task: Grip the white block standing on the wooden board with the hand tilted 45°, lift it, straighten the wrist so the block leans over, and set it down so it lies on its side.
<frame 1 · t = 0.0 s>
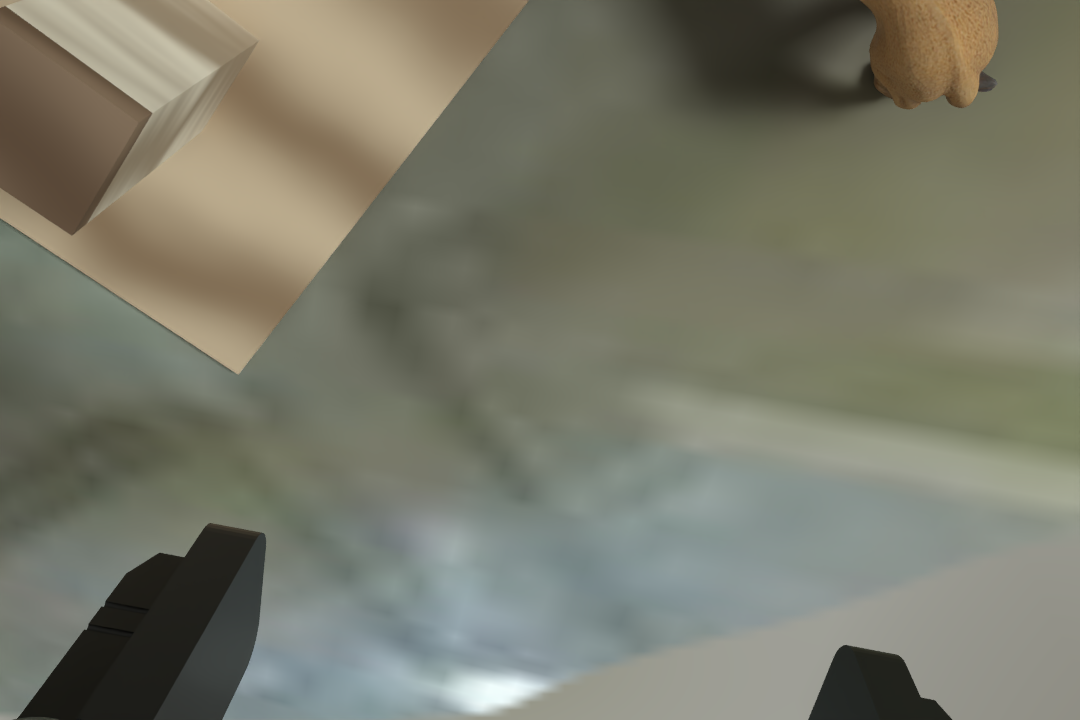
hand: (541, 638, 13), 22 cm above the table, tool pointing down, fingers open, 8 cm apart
white block: (177, 47, 31), resting on wooden board
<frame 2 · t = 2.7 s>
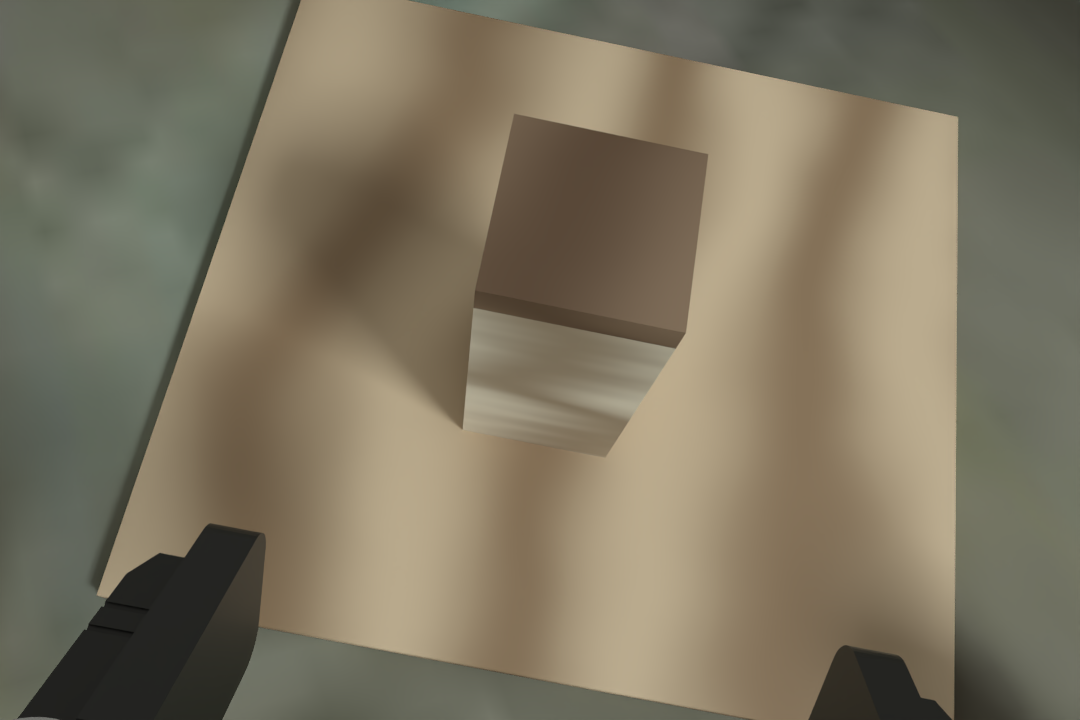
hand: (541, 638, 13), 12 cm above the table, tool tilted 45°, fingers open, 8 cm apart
wooden board: (588, 327, 28), on the table
white block: (546, 377, 26), resting on wooden board
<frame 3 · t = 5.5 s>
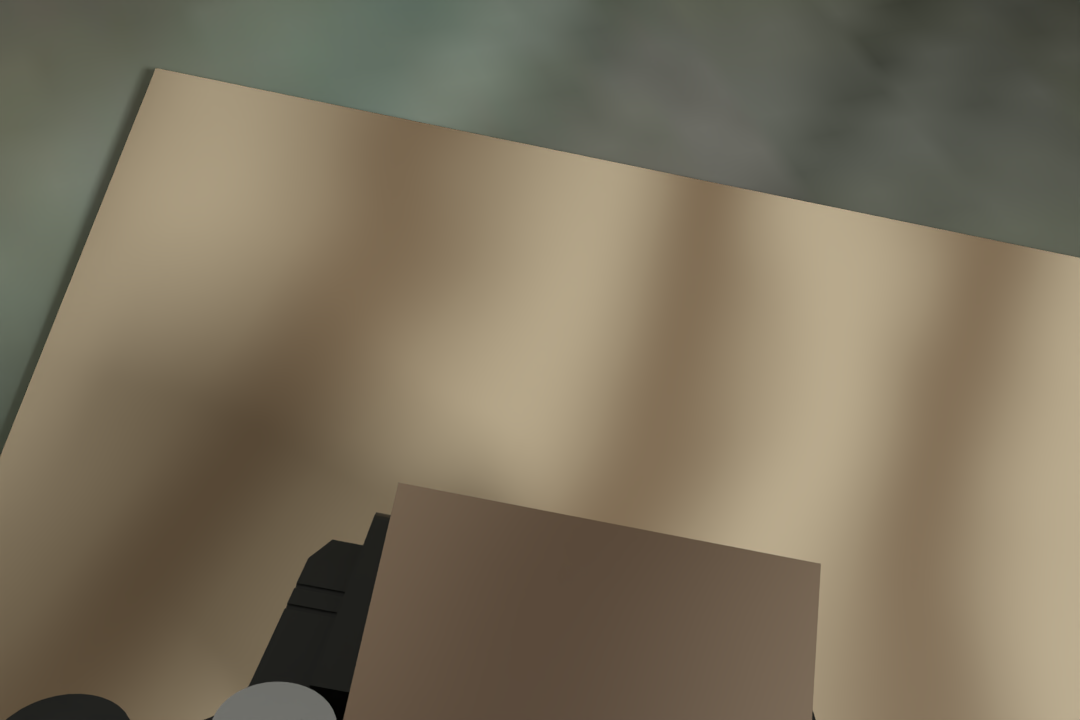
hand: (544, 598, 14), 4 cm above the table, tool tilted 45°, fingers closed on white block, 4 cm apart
wooden board: (575, 631, 17), on the table
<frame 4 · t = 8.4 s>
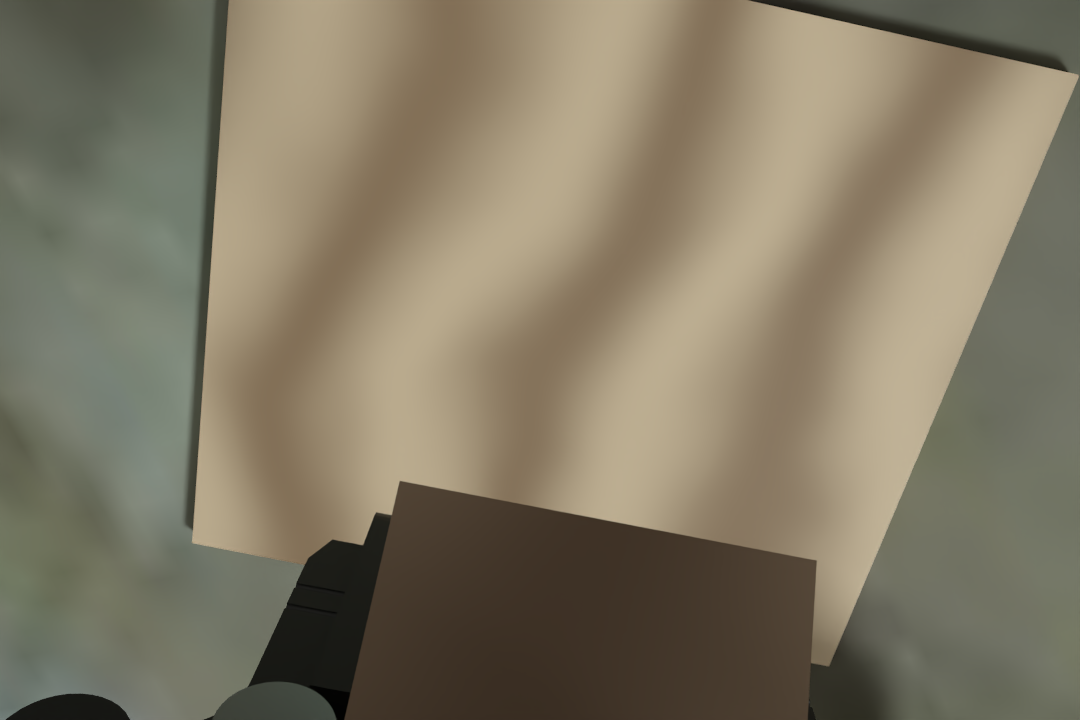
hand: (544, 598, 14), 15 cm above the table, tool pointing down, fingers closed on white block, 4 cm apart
wooden board: (580, 332, 28), on the table
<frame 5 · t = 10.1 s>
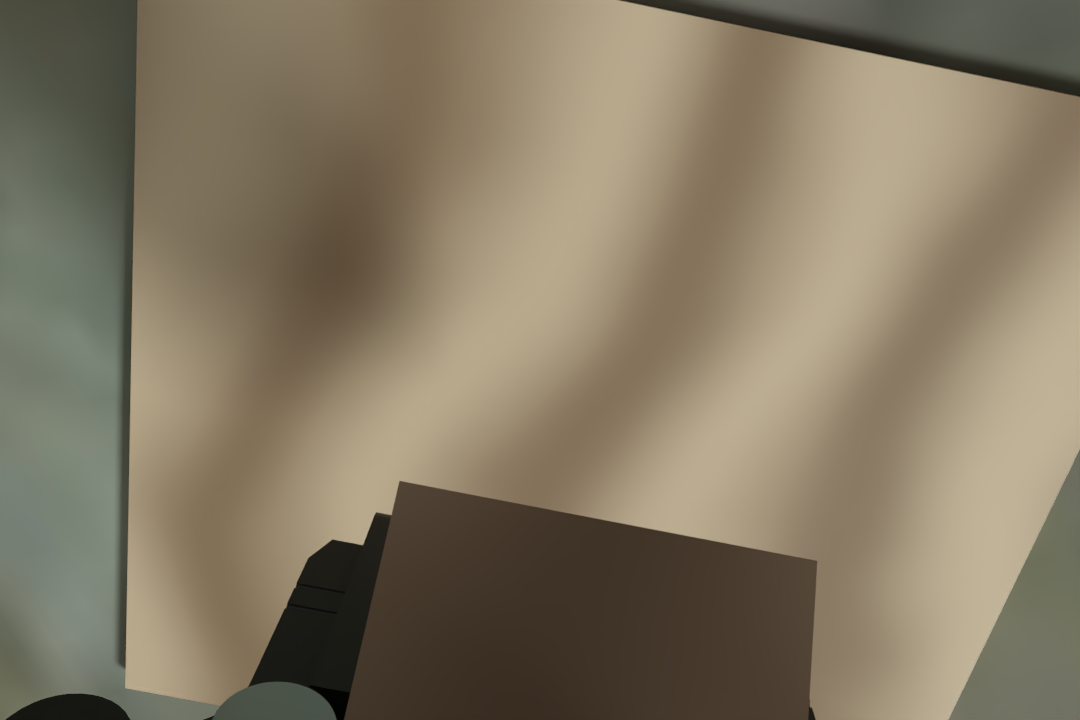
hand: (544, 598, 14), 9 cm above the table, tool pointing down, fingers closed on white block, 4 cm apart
wooden board: (589, 444, 23), on the table
when the fingers open (5 cm above the table, at t = 11.2 s): white block moves 2 cm and tips over, resting on wooden board.
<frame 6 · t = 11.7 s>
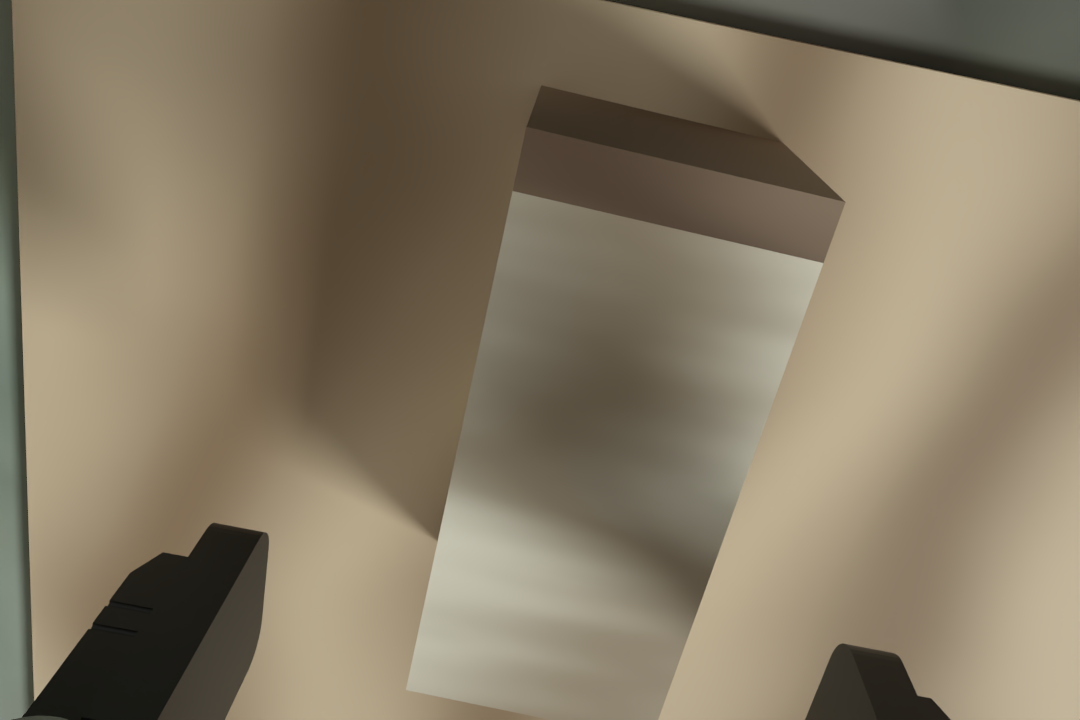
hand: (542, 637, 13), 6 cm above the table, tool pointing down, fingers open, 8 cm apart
wooden board: (583, 539, 19), on the table
white block: (535, 632, 17), point 2 cm above the table, tilted 90°, touching wooden board
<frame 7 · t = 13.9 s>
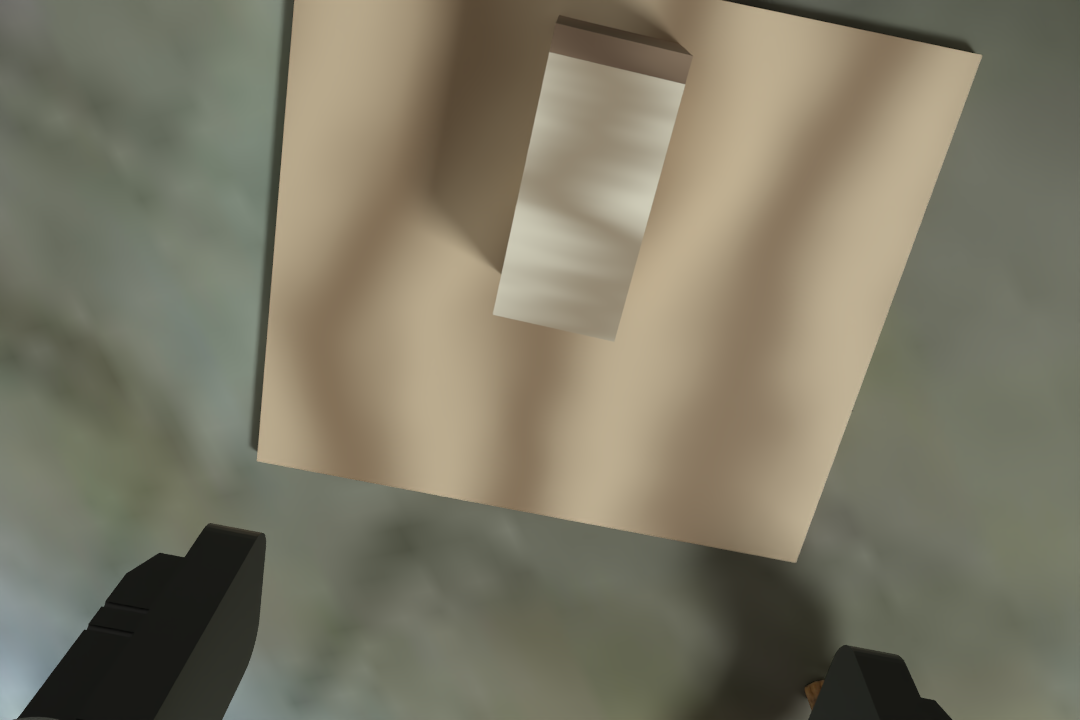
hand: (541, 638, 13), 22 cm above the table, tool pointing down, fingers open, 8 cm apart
wooden board: (581, 275, 34), on the table
white block: (555, 306, 32), point 2 cm above the table, tilted 90°, touching wooden board
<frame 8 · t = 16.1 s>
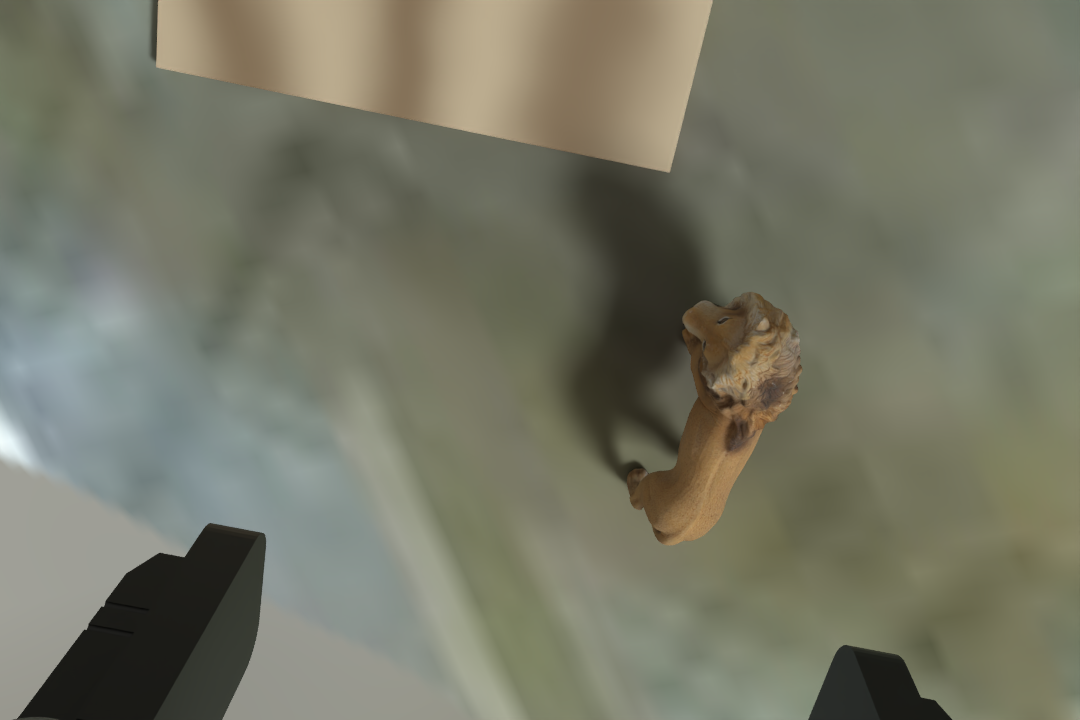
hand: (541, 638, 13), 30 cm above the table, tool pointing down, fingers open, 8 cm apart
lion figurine: (693, 383, 44), on the table
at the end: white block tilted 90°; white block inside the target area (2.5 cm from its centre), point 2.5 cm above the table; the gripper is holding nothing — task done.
